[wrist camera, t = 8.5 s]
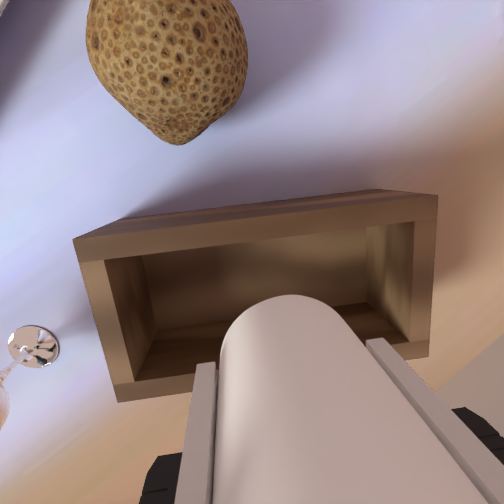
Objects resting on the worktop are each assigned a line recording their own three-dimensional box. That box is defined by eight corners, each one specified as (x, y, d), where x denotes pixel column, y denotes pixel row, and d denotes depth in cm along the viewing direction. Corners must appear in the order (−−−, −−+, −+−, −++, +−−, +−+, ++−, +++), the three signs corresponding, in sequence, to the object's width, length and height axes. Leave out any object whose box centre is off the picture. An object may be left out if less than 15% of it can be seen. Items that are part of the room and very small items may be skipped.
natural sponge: (209, -8, 22) (195, -152, 12) (263, 110, 24) (286, 67, 14) (104, 52, 22) (9, -40, 13) (166, 162, 25) (127, 155, 15)
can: (342, 278, 14) (941, 832, 2) (355, 390, 15) (728, 1033, 4) (206, 306, 14) (76, 1068, 2) (234, 417, 15) (253, 1167, 4)
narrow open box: (376, 309, 30) (428, 356, 22) (147, 340, 29) (117, 402, 21) (377, 188, 26) (438, 195, 19) (119, 219, 25) (72, 239, 18)
